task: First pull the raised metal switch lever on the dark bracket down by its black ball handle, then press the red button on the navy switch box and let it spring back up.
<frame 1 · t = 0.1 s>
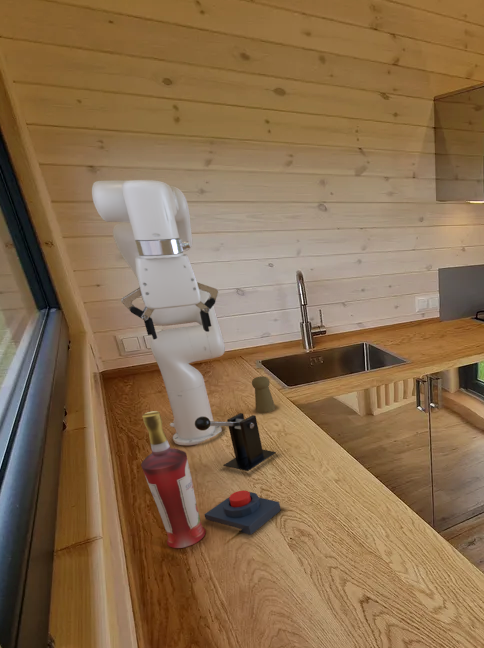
hand: (181, 334, 102), 37 cm above the worktop, tool pointing down, fingers open, 9 cm apart
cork: (265, 409, 159), on the worktop
switch button: (240, 499, 103), point 4 cm above the worktop, slide at 0.1 cm
switch box: (244, 516, 105), on the worktop
switch lever: (223, 423, 117), point 14 cm above the worktop, hinge at 25.0°
switch bracket: (250, 462, 127), on the worktop
liquor: (188, 542, 98), on the worktop
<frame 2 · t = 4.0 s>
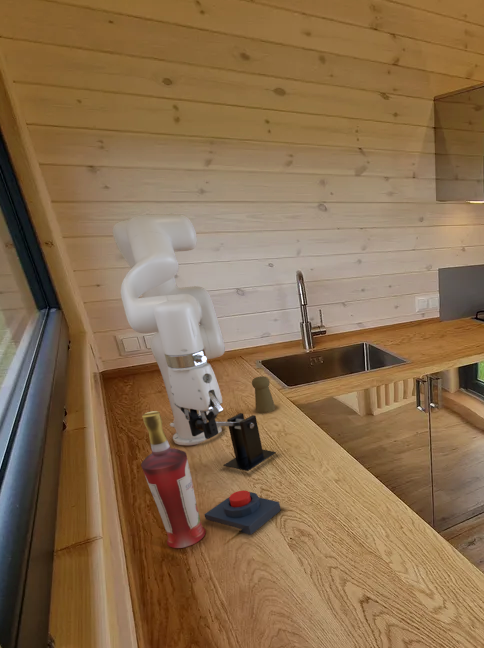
hand: (205, 434, 112), 13 cm above the worktop, tool pointing down, fingers closed on switch lever, 3 cm apart
switch lever: (223, 423, 117), point 14 cm above the worktop, hinge at 25.0°, touching gripper
everything else where it was.
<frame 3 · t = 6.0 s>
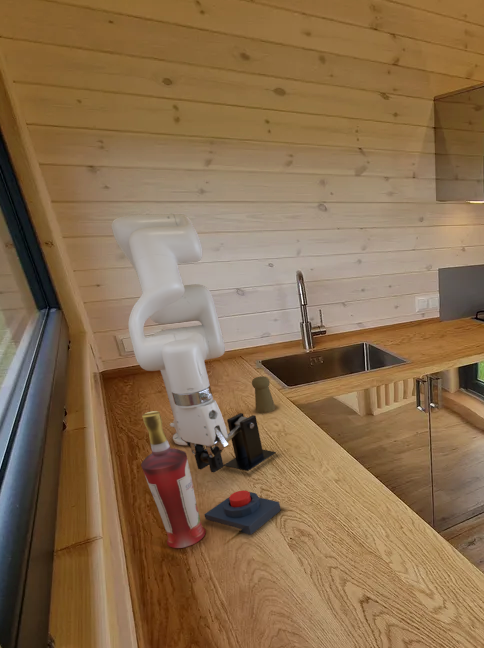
hand: (210, 467, 115), 5 cm above the worktop, tool pointing down, fingers closed on switch lever, 3 cm apart
switch lever: (225, 439, 118), point 9 cm above the worktop, hinge at -14.8°, touching gripper
everything else where it was.
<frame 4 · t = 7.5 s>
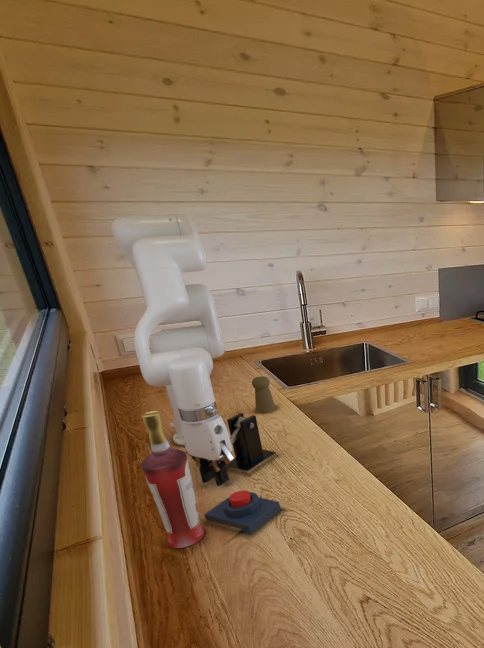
hand: (215, 480, 117), 1 cm above the worktop, tool pointing down, fingers open, 3 cm apart
switch lever: (229, 444, 119), point 8 cm above the worktop, hinge at -30.5°
everything else where it was.
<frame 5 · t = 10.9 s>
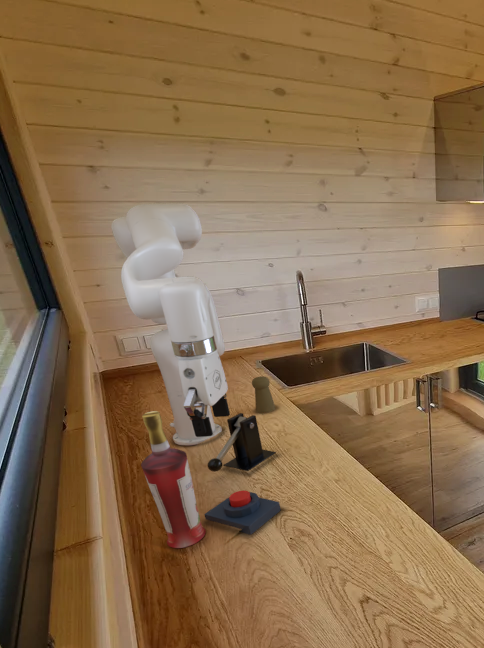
hand: (213, 425, 102), 19 cm above the worktop, tool pointing down, fingers open, 9 cm apart
nothing on the worktop moved.
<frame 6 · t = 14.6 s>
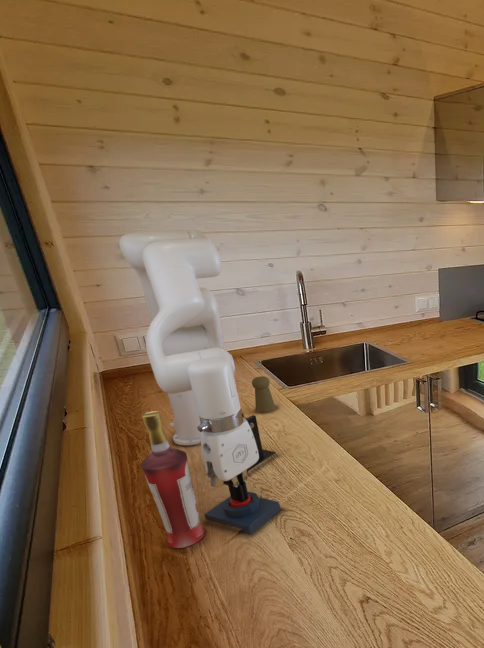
hand: (240, 498, 103), 5 cm above the worktop, tool pointing down, fingers closed
switch button: (241, 502, 103), point 4 cm above the worktop, slide at -0.7 cm, touching gripper
everything else where it was.
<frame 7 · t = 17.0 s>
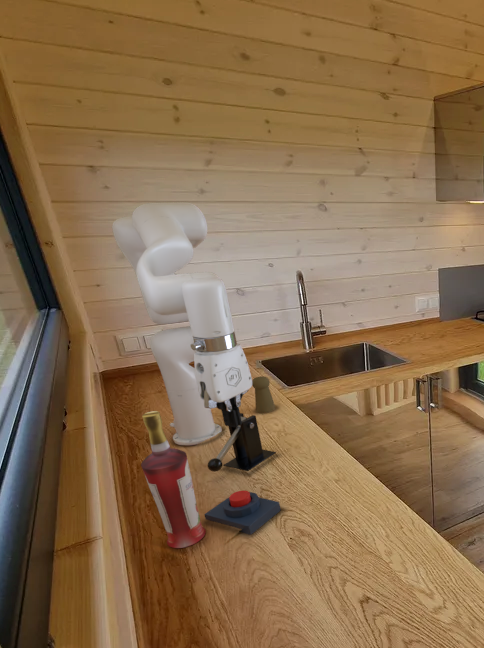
hand: (233, 424, 104), 19 cm above the worktop, tool pointing down, fingers closed
switch button: (240, 499, 103), point 4 cm above the worktop, slide at 0.1 cm
everything else where it was.
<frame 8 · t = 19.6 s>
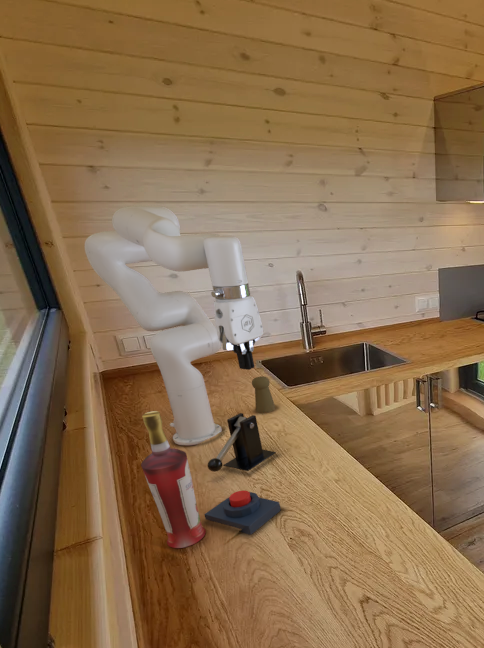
hand: (247, 368, 119), 25 cm above the worktop, tool pointing down, fingers closed
nothing on the worktop moved.
at the end: switch lever at -30° (first picture: +25°); switch button pushed in 1.1 cm at the most during the clip, back to where it started at the end; switch button slide at 0.1 cm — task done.
